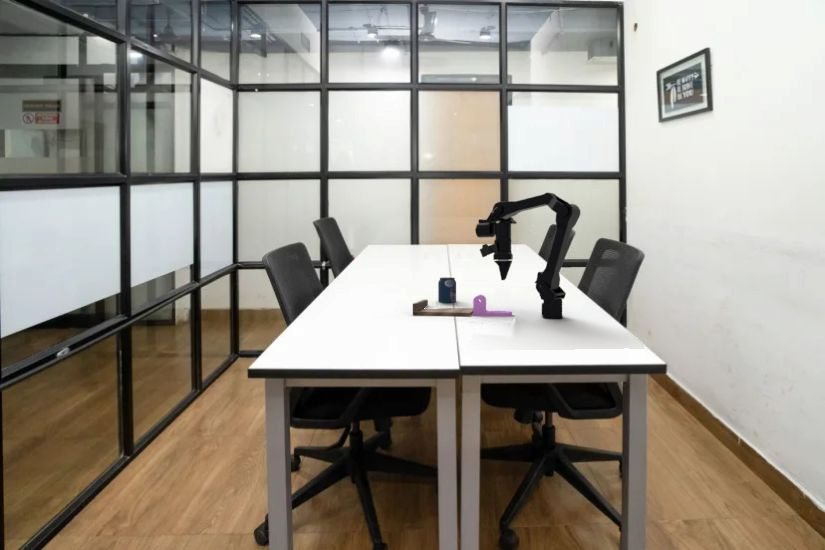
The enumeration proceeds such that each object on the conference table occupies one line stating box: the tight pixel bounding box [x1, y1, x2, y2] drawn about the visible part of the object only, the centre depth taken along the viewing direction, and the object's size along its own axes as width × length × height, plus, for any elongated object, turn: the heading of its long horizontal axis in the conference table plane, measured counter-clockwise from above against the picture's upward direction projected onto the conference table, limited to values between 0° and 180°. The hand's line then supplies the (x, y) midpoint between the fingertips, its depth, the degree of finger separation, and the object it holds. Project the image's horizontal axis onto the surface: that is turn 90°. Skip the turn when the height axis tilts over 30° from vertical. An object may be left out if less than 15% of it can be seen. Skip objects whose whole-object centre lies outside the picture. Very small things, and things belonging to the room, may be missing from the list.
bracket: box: [472, 294, 513, 317], centre depth 201 cm, size 13×6×7 cm, turn 76°
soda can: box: [437, 277, 457, 304], centre depth 225 cm, size 7×7×12 cm
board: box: [412, 299, 473, 317], centre depth 209 cm, size 20×18×4 cm
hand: (503, 279), depth 211 cm, fingers open, 9 cm apart
